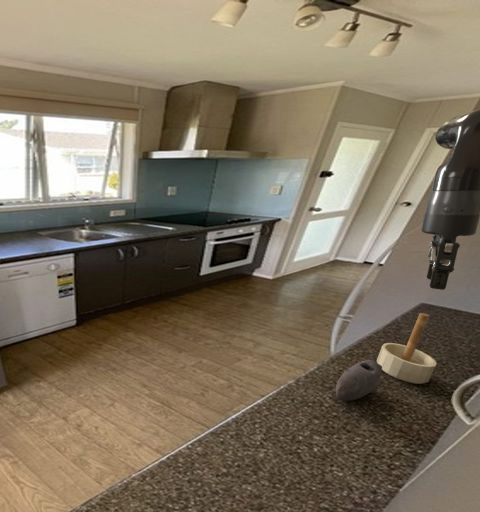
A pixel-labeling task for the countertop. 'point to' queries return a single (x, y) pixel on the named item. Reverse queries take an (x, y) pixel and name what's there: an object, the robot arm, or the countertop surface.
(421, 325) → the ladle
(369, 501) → the countertop surface
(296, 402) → the countertop surface
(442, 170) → the robot arm
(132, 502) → the countertop surface
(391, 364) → the bowl
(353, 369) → the perforated stone tool
